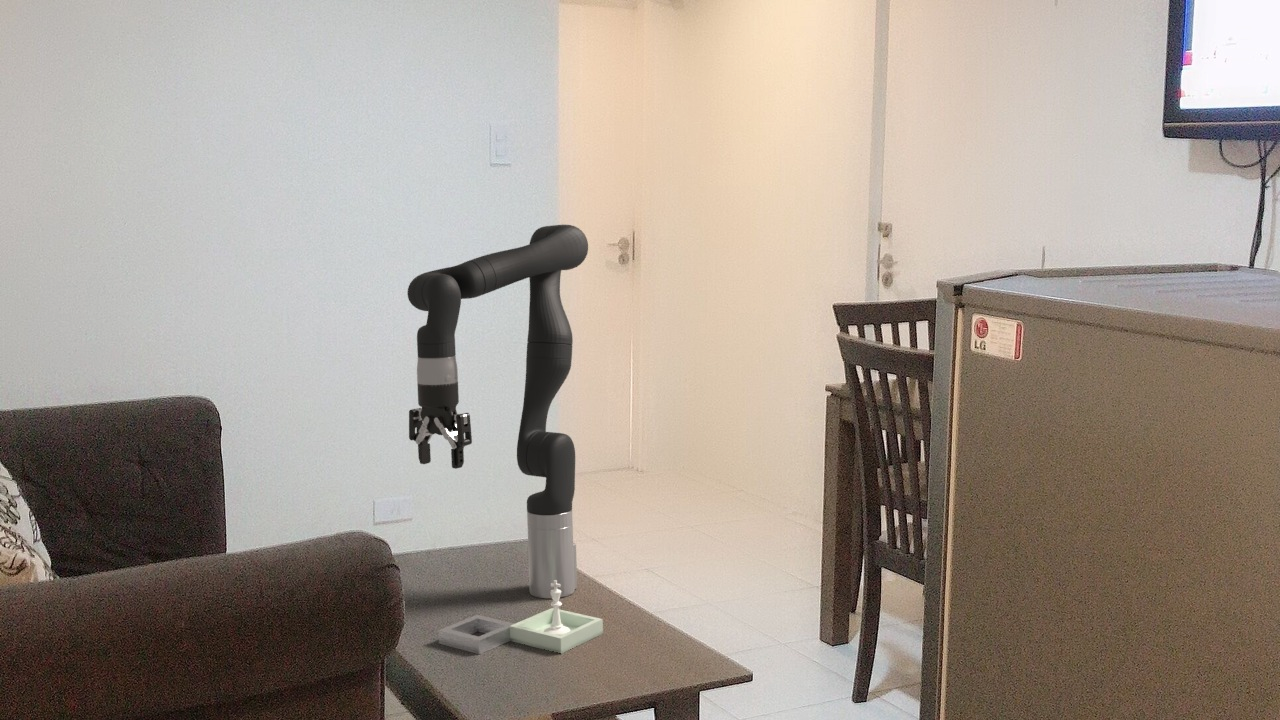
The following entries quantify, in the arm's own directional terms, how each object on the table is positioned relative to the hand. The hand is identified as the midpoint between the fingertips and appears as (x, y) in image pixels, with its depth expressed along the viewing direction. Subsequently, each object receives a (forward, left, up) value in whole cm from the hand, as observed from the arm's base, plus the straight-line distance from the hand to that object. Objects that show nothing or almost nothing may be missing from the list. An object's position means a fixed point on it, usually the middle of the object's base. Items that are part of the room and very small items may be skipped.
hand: (441, 465), depth 218 cm
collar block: (+5, +13, -30) cm, 33 cm away
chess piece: (-4, +24, -30) cm, 38 cm away
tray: (-4, +24, -30) cm, 39 cm away
